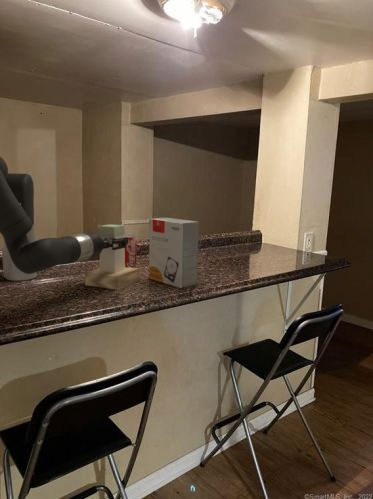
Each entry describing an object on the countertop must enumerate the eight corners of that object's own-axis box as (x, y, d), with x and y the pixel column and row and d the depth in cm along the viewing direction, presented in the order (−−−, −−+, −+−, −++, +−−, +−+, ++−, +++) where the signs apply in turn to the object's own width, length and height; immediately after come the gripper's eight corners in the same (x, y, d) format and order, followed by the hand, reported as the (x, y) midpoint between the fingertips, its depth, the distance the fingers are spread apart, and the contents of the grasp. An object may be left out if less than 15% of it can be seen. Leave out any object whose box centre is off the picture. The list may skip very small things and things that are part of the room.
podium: (85, 285, 120) (84, 272, 119) (108, 276, 130) (107, 265, 130) (118, 289, 115) (117, 276, 114) (139, 280, 126) (139, 268, 125)
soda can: (113, 271, 139) (113, 234, 136) (133, 269, 141) (133, 234, 139) (118, 275, 132) (118, 237, 130) (139, 274, 135) (139, 236, 133)
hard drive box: (148, 279, 128) (148, 218, 125) (165, 275, 133) (166, 217, 130) (180, 288, 117) (181, 222, 114) (198, 284, 122) (200, 220, 119)
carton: (99, 271, 120) (98, 226, 118) (110, 267, 125) (109, 224, 123) (115, 273, 118) (114, 227, 116) (124, 269, 123) (124, 225, 121)
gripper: (102, 235, 104) (135, 228, 119) (60, 231, 110) (96, 226, 124) (103, 262, 105) (135, 253, 120) (61, 257, 111) (97, 249, 126)
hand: (115, 239), depth 122 cm, fingers open, 8 cm apart
